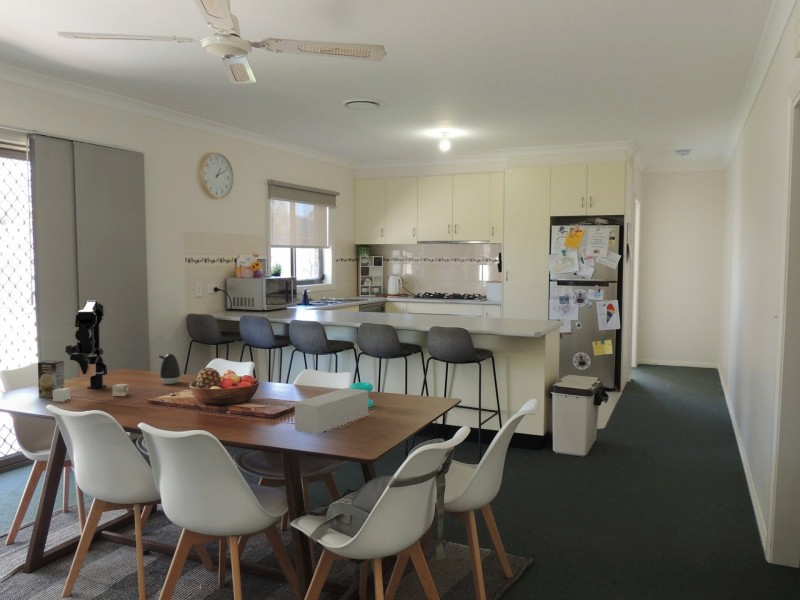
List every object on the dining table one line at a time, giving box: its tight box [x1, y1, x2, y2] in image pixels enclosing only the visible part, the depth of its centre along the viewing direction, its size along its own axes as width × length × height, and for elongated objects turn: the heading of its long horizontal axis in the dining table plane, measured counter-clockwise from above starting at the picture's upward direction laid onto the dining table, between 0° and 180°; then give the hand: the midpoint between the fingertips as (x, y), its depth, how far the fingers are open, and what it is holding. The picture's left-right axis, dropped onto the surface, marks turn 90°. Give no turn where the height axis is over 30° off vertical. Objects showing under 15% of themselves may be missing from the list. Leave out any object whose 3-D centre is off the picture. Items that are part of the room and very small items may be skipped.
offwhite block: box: [52, 387, 71, 402], centre depth 283 cm, size 5×5×5 cm
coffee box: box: [37, 359, 65, 398], centre depth 291 cm, size 9×6×16 cm
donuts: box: [349, 381, 374, 408], centre depth 272 cm, size 10×10×10 cm
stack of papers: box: [294, 387, 369, 435], centre depth 245 cm, size 32×11×11 cm, turn 147°
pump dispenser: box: [158, 353, 182, 385], centre depth 321 cm, size 10×10×15 cm
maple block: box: [112, 383, 129, 397], centre depth 293 cm, size 5×5×5 cm
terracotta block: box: [78, 364, 96, 378], centre depth 286 cm, size 5×5×5 cm
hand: (87, 373), depth 286 cm, fingers closed on terracotta block, 5 cm apart
